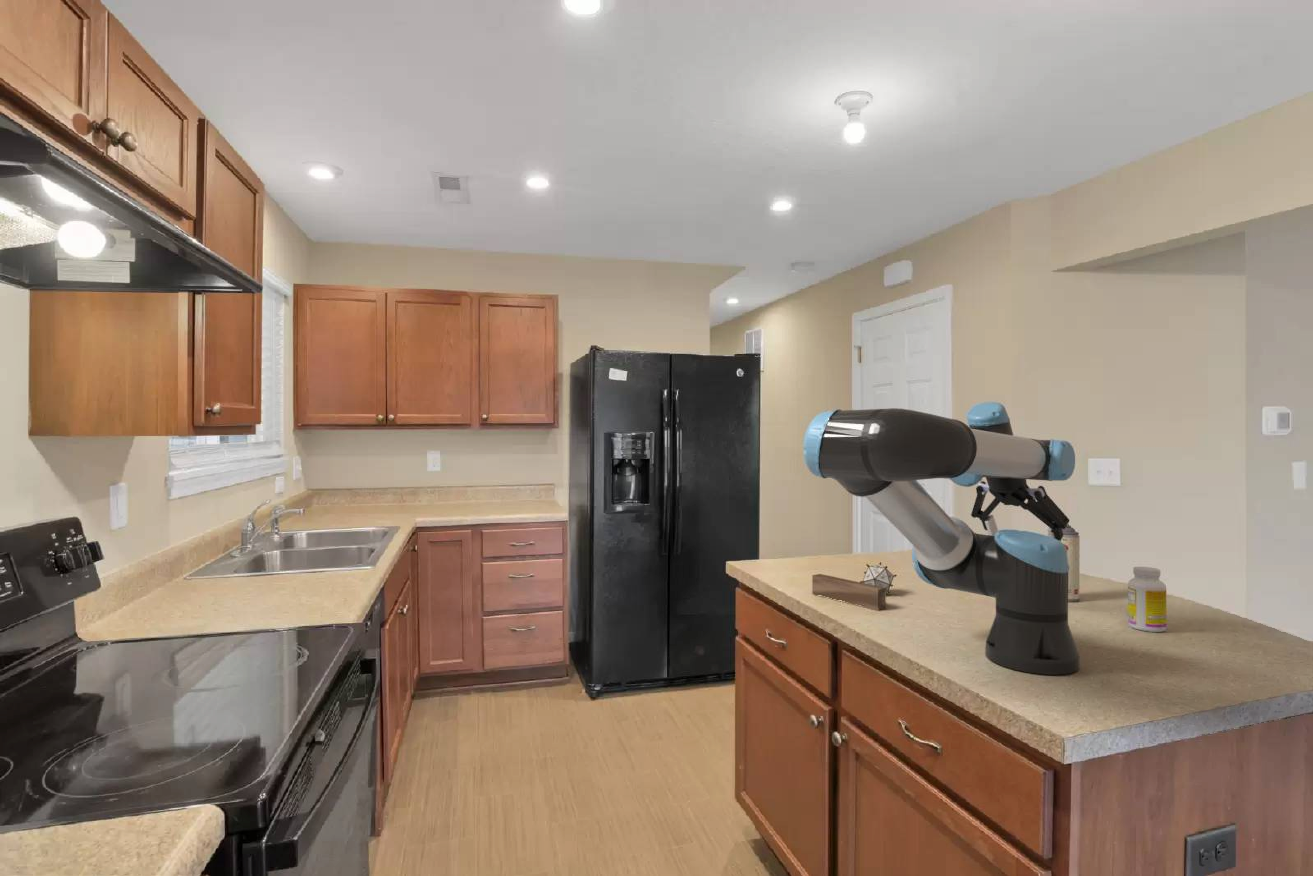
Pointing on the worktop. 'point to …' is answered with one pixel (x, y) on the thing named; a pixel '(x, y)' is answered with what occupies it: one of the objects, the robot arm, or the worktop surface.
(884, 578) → the game die
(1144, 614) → the supplement bottle
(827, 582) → the rail
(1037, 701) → the worktop surface
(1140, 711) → the worktop surface
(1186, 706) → the worktop surface
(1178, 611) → the worktop surface
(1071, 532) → the aerosol can
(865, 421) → the robot arm
